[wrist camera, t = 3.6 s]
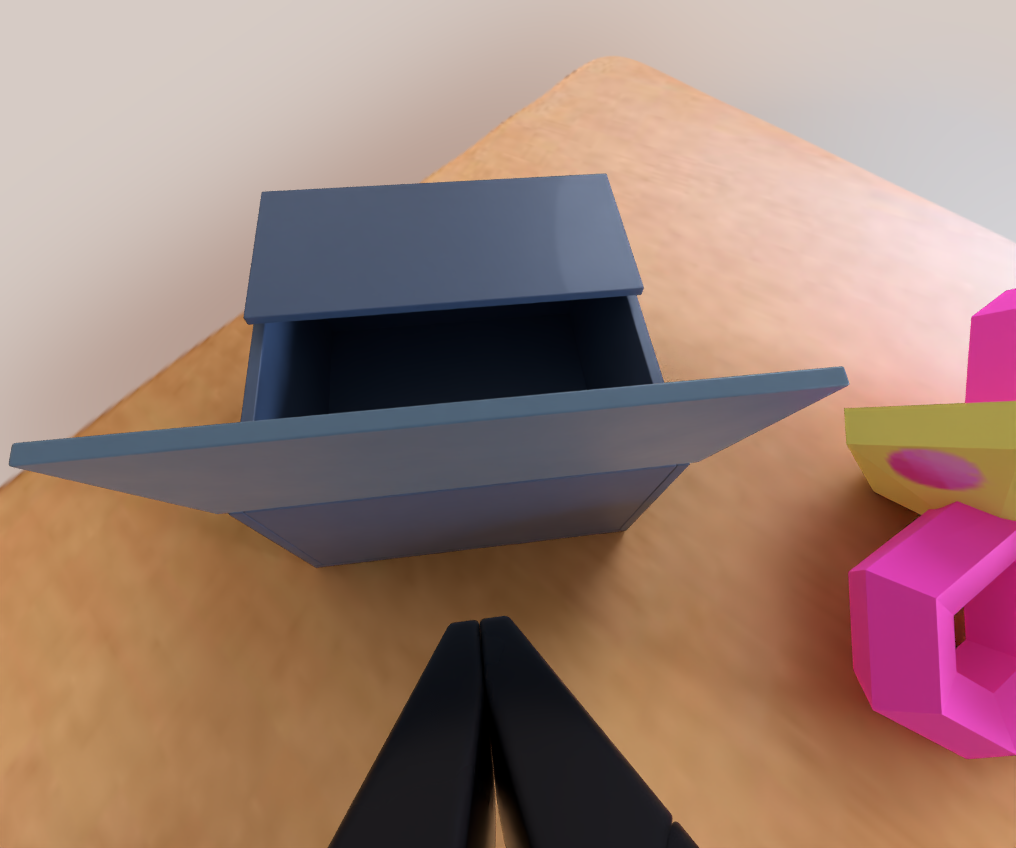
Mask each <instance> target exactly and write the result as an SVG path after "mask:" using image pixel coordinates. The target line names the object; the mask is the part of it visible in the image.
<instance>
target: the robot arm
mask: <svg viewBox="0 0 1016 848" xmlns="http://www.w3.org/2000/svg"><path fill="white" fill-rule="evenodd" d="M480 635H481V636H480ZM491 750H492V751H491ZM492 760H493V762H492ZM493 770H494V773H493ZM494 780H495V786H494ZM495 788H496V796H497V804H498V809H499V815H500V821H501V826H502V831H503V836H504V841H505V846H506V848H699V847H698V846H697V844H696V843H695V842H694V841H693V840H692V838H691V837H690V836H689V835H688V833H687V832H686V831H685V830H684V829H683V827H682V826H681V825H680V824H679V823H678V822H673V823H672V815H671V813H670V812H669V811H668V810H667V808H666V807H665V806H664V805H663V804H662V802H661V801H660V800H659V799H658V797H657V796H656V795H655V794H654V793H653V791H652V790H651V789H650V788H649V786H648V785H647V784H646V783H645V782H644V780H643V779H642V778H641V777H640V776H639V774H638V773H637V772H636V771H635V769H634V768H633V767H632V766H631V765H630V763H629V762H628V761H627V760H626V758H625V757H624V756H623V755H622V754H621V752H620V751H619V750H618V749H617V748H616V746H615V745H614V744H613V743H612V741H611V740H610V739H609V738H608V737H607V735H606V734H605V733H604V732H603V730H602V729H601V728H600V727H599V726H598V724H597V723H596V722H595V721H594V720H593V718H592V717H591V716H590V715H589V713H588V712H587V711H586V710H585V709H584V707H583V706H582V705H581V704H580V702H579V701H578V700H577V699H576V698H575V696H574V695H573V694H572V693H571V692H570V690H569V689H568V688H567V687H566V685H565V684H564V683H563V682H562V681H561V679H560V678H559V677H558V676H557V674H556V673H555V672H554V671H553V670H552V668H551V667H550V666H549V665H548V664H547V662H546V661H545V660H544V659H543V657H542V656H541V655H540V654H539V653H538V651H537V650H536V649H535V648H534V646H533V645H532V644H531V643H530V642H529V640H528V639H527V638H526V637H525V636H524V634H523V633H522V632H521V631H520V629H519V628H518V627H517V626H516V625H515V623H514V622H513V621H512V620H511V619H510V618H509V617H507V616H500V617H492V618H485V619H482V620H481V622H480V626H479V623H478V621H476V620H470V621H462V622H455V623H451V624H450V625H449V626H448V627H447V629H446V631H445V633H444V635H443V636H442V638H441V640H440V642H439V644H438V646H437V647H436V649H435V651H434V653H433V655H432V657H431V659H430V660H429V662H428V664H427V666H426V668H425V670H424V671H423V673H422V675H421V677H420V679H419V681H418V682H417V684H416V686H415V688H414V690H413V692H412V693H411V695H410V697H409V699H408V701H407V703H406V705H405V706H404V708H403V710H402V712H401V714H400V716H399V717H398V719H397V721H396V723H395V725H394V727H393V728H392V730H391V732H390V734H389V736H388V738H387V739H386V741H385V743H384V745H383V747H382V749H381V751H380V752H379V754H378V756H377V758H376V760H375V762H374V763H373V765H372V767H371V769H370V771H369V773H368V774H367V776H366V778H365V780H364V782H363V784H362V785H361V787H360V789H359V791H358V793H357V795H356V797H355V798H354V800H353V802H352V804H351V806H350V808H349V809H348V811H347V813H346V815H345V817H344V819H343V820H342V822H341V824H340V826H339V828H338V830H337V831H336V833H335V835H334V837H333V839H332V841H331V843H330V844H329V846H328V848H495V841H496V803H495Z"/></svg>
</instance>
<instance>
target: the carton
mask: <svg viewBox="0 0 1016 848" xmlns="http://www.w3.org/2000/svg"><path fill="white" fill-rule="evenodd" d="M643 289H644V287H643V284H642V281H641V278H640V275H639V272H638V269H637V266H636V263H635V259H634V256H633V253H632V250H631V247H630V244H629V241H628V238H627V235H626V232H625V229H624V226H623V223H622V220H621V217H620V214H619V211H618V208H617V205H616V202H615V199H614V196H613V192H612V189H611V186H610V183H609V180H608V177H607V174H588V175H569V176H551V177H532V178H513V179H494V180H475V181H456V182H437V183H419V184H400V185H382V186H363V187H343V188H326V189H325V188H324V189H308V190H307V189H306V190H288V191H269V192H262V194H261V201H260V208H259V214H258V222H257V228H256V235H255V242H254V249H253V256H252V263H251V269H250V276H249V283H248V290H247V297H246V304H245V311H244V319H245V321H246V322H247V324H249V325H250V324H254V325H253V332H252V340H251V347H250V355H249V362H248V370H247V377H246V385H245V393H244V400H243V408H242V415H241V422H248V421H259V420H269V419H280V418H291V417H302V416H312V415H323V414H334V413H345V412H356V411H366V410H377V409H388V408H399V407H409V406H420V405H431V404H442V403H452V402H463V401H474V400H485V399H496V398H506V397H517V396H528V395H539V394H549V393H560V392H571V391H582V390H592V389H603V388H614V387H625V386H636V385H646V384H657V383H664V380H663V377H662V374H661V371H660V368H659V365H658V362H657V358H656V355H655V352H654V349H653V346H652V343H651V339H650V336H649V333H648V330H647V327H646V324H645V321H644V317H643V314H642V311H641V308H640V305H639V302H638V298H637V295H641V294H642V291H643ZM689 465H690V463H684V464H675V465H666V466H657V467H647V468H638V469H629V470H620V471H610V472H601V473H592V474H583V475H574V476H564V477H555V478H546V479H537V480H527V481H518V482H509V483H500V484H491V485H481V486H472V487H463V488H454V489H444V490H435V491H426V492H417V493H407V494H398V495H389V496H380V497H371V498H361V499H352V500H343V501H334V502H324V503H315V504H306V505H297V506H288V507H278V508H269V509H260V510H251V511H241V512H232V513H229V515H230V516H232V517H234V518H235V519H237V520H239V521H240V522H242V523H244V524H245V525H247V526H248V527H250V528H252V529H253V530H255V531H257V532H258V533H260V534H262V535H263V536H265V537H266V538H268V539H270V540H271V541H273V542H275V543H276V544H278V545H280V546H281V547H283V548H284V549H286V550H288V551H289V552H291V553H293V554H294V555H296V556H298V557H299V558H301V559H303V560H304V561H306V562H307V563H309V564H311V565H312V566H314V567H316V568H318V567H327V566H335V565H343V564H352V563H360V562H368V561H377V560H385V559H393V558H402V557H410V556H418V555H427V554H435V553H443V552H452V551H460V550H469V549H477V548H485V547H494V546H502V545H510V544H519V543H527V542H535V541H544V540H552V539H560V538H569V537H577V536H585V535H594V534H602V533H611V532H619V531H626V530H627V529H628V528H629V527H630V526H631V525H632V524H633V523H634V522H635V521H636V520H637V519H638V518H639V517H640V515H641V514H642V513H643V512H644V511H645V510H646V509H647V508H648V507H649V506H650V505H651V504H652V503H653V502H654V501H655V500H656V499H657V498H658V497H659V496H660V495H661V494H662V493H663V492H664V491H665V489H666V488H667V487H668V486H669V485H670V484H671V483H672V482H673V481H674V480H675V479H676V478H677V477H678V476H679V475H680V474H681V473H682V472H683V471H684V470H685V469H686V468H687V467H688V466H689Z"/></svg>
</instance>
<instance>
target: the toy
mask: <svg viewBox="0 0 1016 848" xmlns="http://www.w3.org/2000/svg"><path fill="white" fill-rule="evenodd" d="M844 414H845V430H846V444H847V446H848V448H849V449H850V451H851V453H852V455H853V456H854V458H855V460H856V462H857V463H858V465H859V467H860V469H861V470H862V472H863V474H864V476H865V477H866V479H867V481H868V483H869V484H870V486H871V488H872V489H873V491H874V492H876V493H878V494H880V495H882V496H884V497H886V498H888V499H890V500H892V501H894V502H896V503H898V504H900V505H902V506H904V507H906V508H908V509H910V510H912V511H914V512H916V513H918V514H920V515H921V516H920V517H918V518H917V519H916V520H914V521H913V522H912V523H911V524H909V525H908V526H907V527H905V528H904V529H903V530H902V531H900V532H899V533H898V534H896V535H895V536H894V537H893V538H891V539H890V540H889V541H887V542H886V543H885V544H883V545H882V546H881V547H880V548H878V549H877V550H876V551H874V552H873V553H872V554H871V555H869V556H868V557H867V558H865V559H864V560H863V561H862V562H860V563H859V564H858V565H856V566H855V567H854V568H853V569H851V570H850V571H849V572H848V579H849V598H850V617H851V636H852V656H853V670H854V672H855V675H856V677H857V679H858V681H859V683H860V685H861V687H862V689H863V691H864V693H865V695H866V697H867V699H868V701H869V703H870V706H871V708H872V710H874V711H876V712H878V713H880V714H881V715H883V716H885V717H887V718H889V719H891V720H893V721H895V722H897V723H899V724H901V725H902V726H904V727H906V728H908V729H910V730H912V731H914V732H916V733H918V734H920V735H922V736H923V737H925V738H927V739H929V740H931V741H933V742H935V743H937V744H939V745H941V746H943V747H945V748H946V749H948V750H950V751H952V752H954V753H956V754H958V755H960V756H962V757H964V758H966V759H975V758H988V757H1001V756H1013V755H1016V289H1011V290H1007V291H1005V292H1004V293H1002V294H1001V295H1000V296H998V297H997V298H996V299H994V300H993V301H992V302H990V303H989V304H988V305H987V306H985V307H984V308H983V309H981V310H980V311H979V312H977V313H976V314H975V315H973V316H972V317H971V329H970V341H969V354H968V368H967V383H966V398H965V403H957V404H935V405H912V406H889V407H866V408H844ZM963 607H964V617H965V634H966V640H965V641H964V642H962V643H961V644H960V645H959V646H958V647H957V648H956V649H955V633H954V615H955V614H956V613H957V612H958V611H959V610H960V609H961V608H963Z"/></svg>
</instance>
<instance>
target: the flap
mask: <svg viewBox="0 0 1016 848" xmlns="http://www.w3.org/2000/svg"><path fill="white" fill-rule="evenodd" d="M848 385H849V381H848V378H847V375H846V372H845V369H844V367H842V366H840V367H829V368H819V369H808V370H797V371H786V372H776V373H765V374H754V375H743V376H732V377H722V378H711V379H700V380H689V381H679V382H668V383H657V384H646V385H636V386H625V387H614V388H603V389H592V390H582V391H571V392H560V393H549V394H539V395H528V396H517V397H506V398H496V399H485V400H474V401H463V402H452V403H442V404H431V405H420V406H409V407H399V408H388V409H377V410H366V411H356V412H345V413H334V414H323V415H312V416H302V417H291V418H280V419H269V420H259V421H248V422H237V423H226V424H216V425H205V426H194V427H183V428H172V429H162V430H151V431H140V432H129V433H119V434H108V435H97V436H86V437H76V438H65V439H54V440H43V441H33V442H23V443H14V444H13V445H12V448H11V453H10V459H9V466H11V467H15V468H19V469H24V470H28V471H33V472H37V473H41V474H46V475H50V476H54V477H59V478H63V479H67V480H72V481H76V482H80V483H85V484H89V485H93V486H98V487H102V488H107V489H111V490H115V491H120V492H124V493H128V494H133V495H137V496H141V497H146V498H150V499H154V500H159V501H163V502H167V503H172V504H176V505H181V506H185V507H189V508H194V509H198V510H202V511H207V512H211V513H215V514H223V513H232V512H241V511H251V510H260V509H269V508H278V507H288V506H297V505H306V504H315V503H324V502H334V501H343V500H352V499H361V498H371V497H380V496H389V495H398V494H407V493H417V492H426V491H435V490H444V489H454V488H463V487H472V486H481V485H491V484H500V483H509V482H518V481H527V480H537V479H546V478H555V477H564V476H574V475H583V474H592V473H601V472H610V471H620V470H629V469H638V468H647V467H657V466H666V465H675V464H684V463H693V462H699V461H701V460H703V459H705V458H707V457H709V456H711V455H713V454H715V453H717V452H719V451H721V450H723V449H725V448H727V447H729V446H731V445H733V444H735V443H737V442H739V441H740V440H742V439H744V438H746V437H748V436H750V435H752V434H754V433H756V432H758V431H760V430H762V429H764V428H766V427H768V426H770V425H772V424H774V423H776V422H778V421H780V420H782V419H784V418H785V417H787V416H789V415H791V414H793V413H795V412H797V411H799V410H801V409H803V408H805V407H807V406H809V405H811V404H813V403H815V402H817V401H819V400H821V399H823V398H825V397H827V396H829V395H830V394H832V393H834V392H836V391H838V390H840V389H842V388H844V387H846V386H848Z"/></svg>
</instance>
